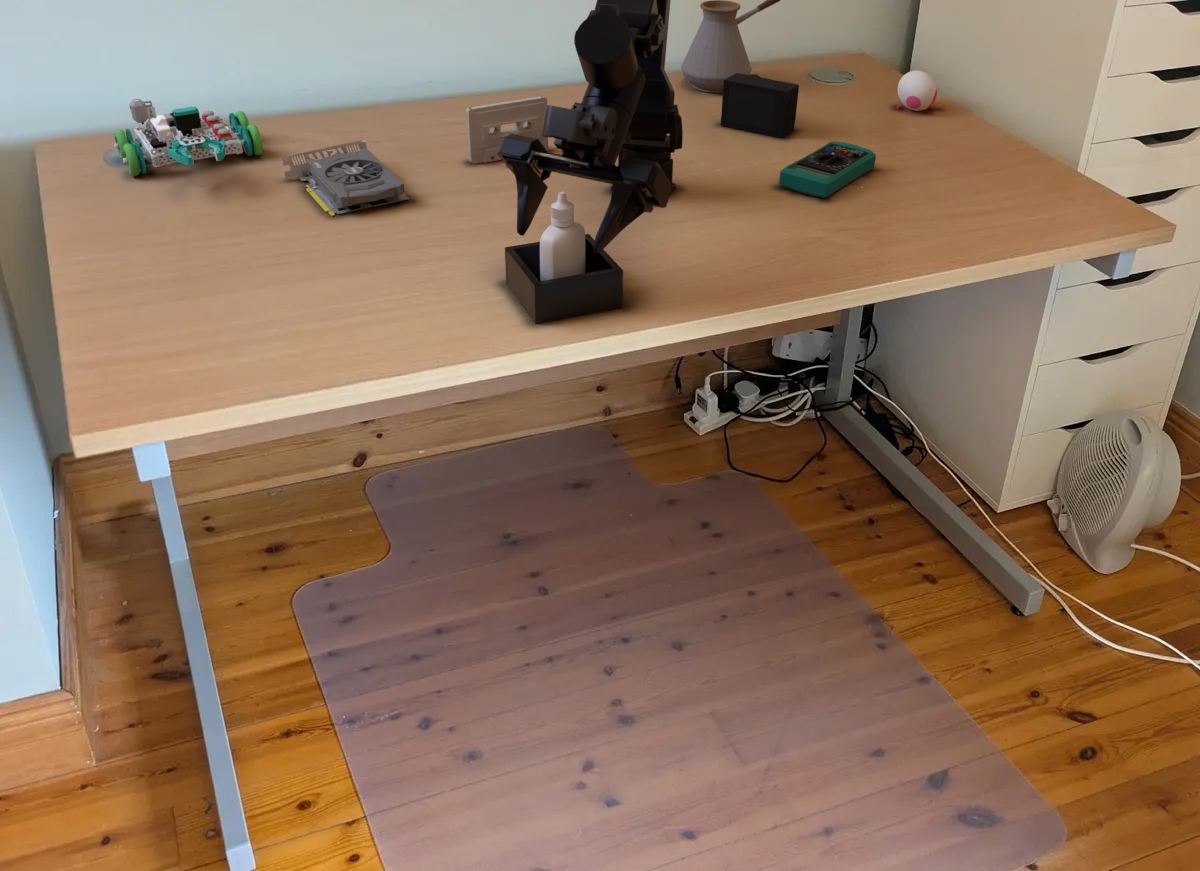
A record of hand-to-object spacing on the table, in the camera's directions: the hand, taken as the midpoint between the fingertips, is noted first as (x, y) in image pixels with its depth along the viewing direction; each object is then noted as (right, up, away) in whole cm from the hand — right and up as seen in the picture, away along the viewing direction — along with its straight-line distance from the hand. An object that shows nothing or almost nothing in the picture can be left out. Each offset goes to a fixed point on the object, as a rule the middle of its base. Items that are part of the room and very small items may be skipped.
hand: (557, 242), depth 120 cm
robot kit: (-50, +16, +35) cm, 64 cm away
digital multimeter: (+35, +14, +34) cm, 51 cm away
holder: (0, -5, +5) cm, 7 cm away
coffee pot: (+28, +38, +69) cm, 84 cm away
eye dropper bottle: (0, -5, +5) cm, 7 cm away
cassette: (-8, +19, +40) cm, 45 cm away
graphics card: (-29, +11, +29) cm, 42 cm away
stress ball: (+55, +31, +58) cm, 86 cm away
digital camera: (+29, +26, +51) cm, 64 cm away
